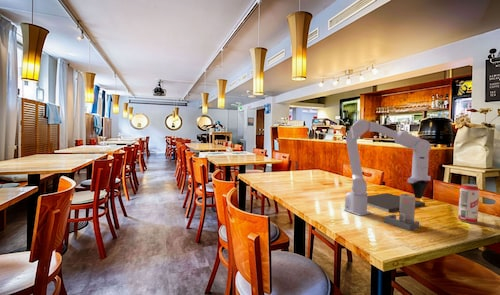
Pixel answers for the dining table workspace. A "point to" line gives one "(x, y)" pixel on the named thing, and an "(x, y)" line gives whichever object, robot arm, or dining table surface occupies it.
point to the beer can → (468, 203)
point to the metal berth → (400, 223)
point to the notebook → (388, 202)
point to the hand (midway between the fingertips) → (418, 198)
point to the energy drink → (407, 208)
